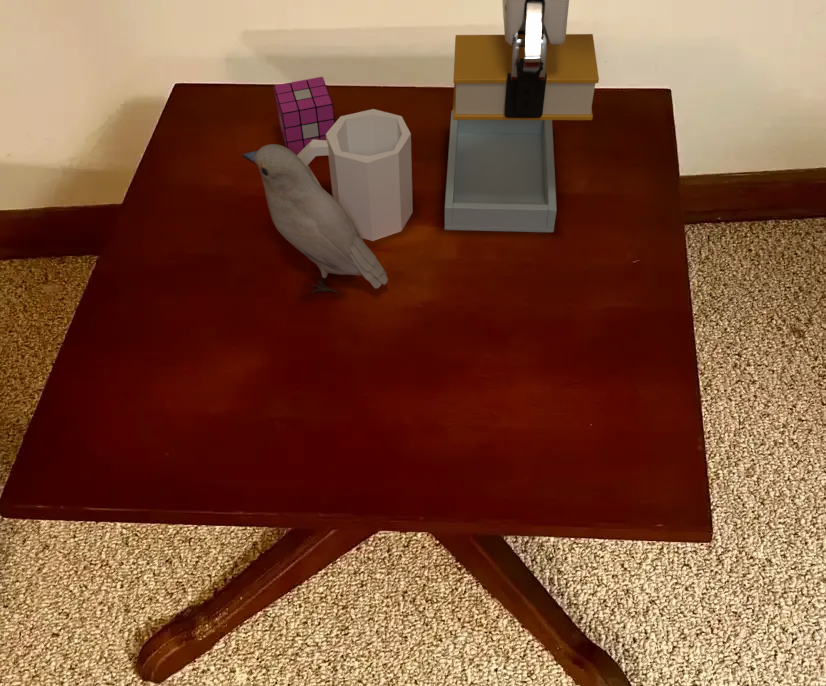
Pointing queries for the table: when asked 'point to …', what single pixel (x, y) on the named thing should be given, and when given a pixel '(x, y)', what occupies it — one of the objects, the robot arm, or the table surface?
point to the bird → (313, 218)
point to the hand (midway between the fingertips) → (522, 88)
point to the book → (491, 61)
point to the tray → (500, 176)
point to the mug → (369, 170)
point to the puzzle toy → (304, 112)
